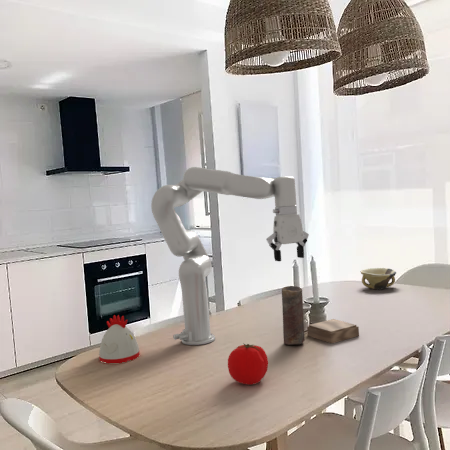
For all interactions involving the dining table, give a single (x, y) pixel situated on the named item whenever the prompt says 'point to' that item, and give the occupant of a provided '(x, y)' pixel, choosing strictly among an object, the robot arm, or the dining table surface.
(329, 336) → the plinth
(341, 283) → the dining table surface
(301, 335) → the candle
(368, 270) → the bowl
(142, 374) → the dining table surface
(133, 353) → the kitchen timer
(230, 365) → the tomato
